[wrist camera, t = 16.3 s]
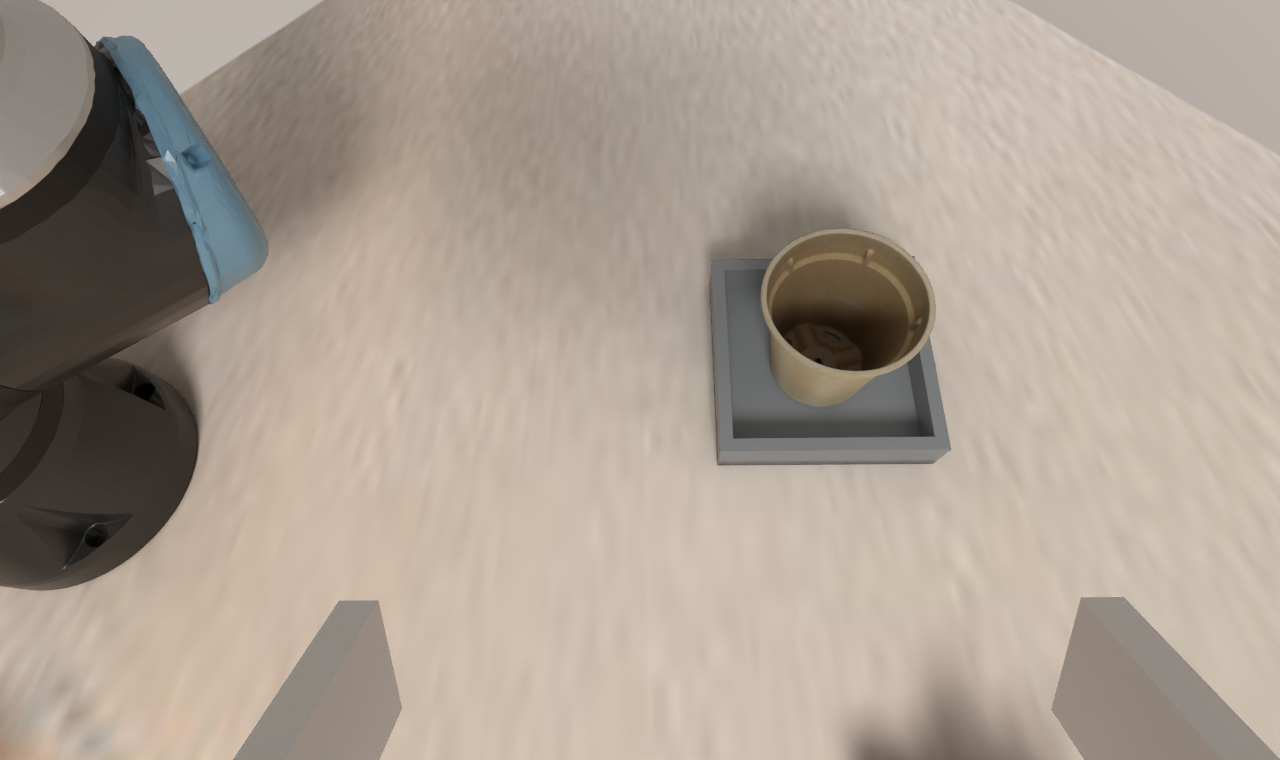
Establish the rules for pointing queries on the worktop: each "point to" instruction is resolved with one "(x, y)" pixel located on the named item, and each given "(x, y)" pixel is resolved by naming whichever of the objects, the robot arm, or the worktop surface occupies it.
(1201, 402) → the worktop surface
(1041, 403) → the worktop surface
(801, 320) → the flower pot
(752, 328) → the tray
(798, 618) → the worktop surface
